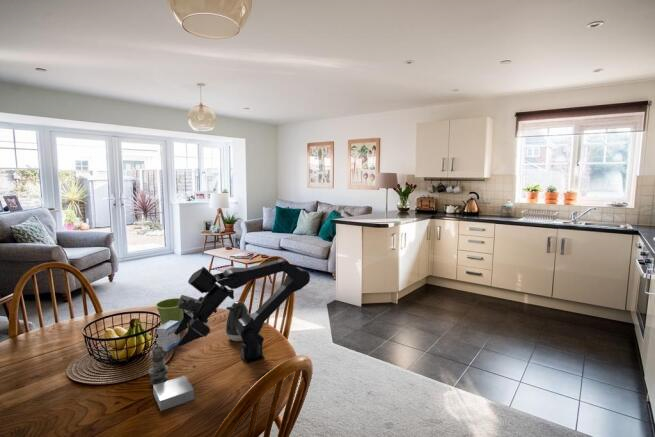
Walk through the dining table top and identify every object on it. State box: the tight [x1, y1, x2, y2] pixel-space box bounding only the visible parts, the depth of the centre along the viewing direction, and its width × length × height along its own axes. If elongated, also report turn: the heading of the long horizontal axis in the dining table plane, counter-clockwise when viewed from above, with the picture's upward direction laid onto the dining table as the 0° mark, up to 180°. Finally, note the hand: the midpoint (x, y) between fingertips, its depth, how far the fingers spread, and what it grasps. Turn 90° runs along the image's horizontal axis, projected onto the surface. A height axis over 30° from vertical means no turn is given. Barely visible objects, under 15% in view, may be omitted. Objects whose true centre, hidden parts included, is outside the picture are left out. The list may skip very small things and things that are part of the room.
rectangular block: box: [152, 375, 195, 412], centre depth 104 cm, size 9×9×3 cm
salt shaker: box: [147, 343, 169, 385], centre depth 113 cm, size 6×6×12 cm
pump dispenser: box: [224, 300, 251, 342], centre depth 142 cm, size 10×10×15 cm
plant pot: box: [155, 297, 184, 326], centre depth 151 cm, size 12×12×11 cm
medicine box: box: [156, 321, 181, 352], centre depth 135 cm, size 8×4×9 cm, turn 168°
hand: (176, 339), depth 115 cm, fingers open, 9 cm apart
